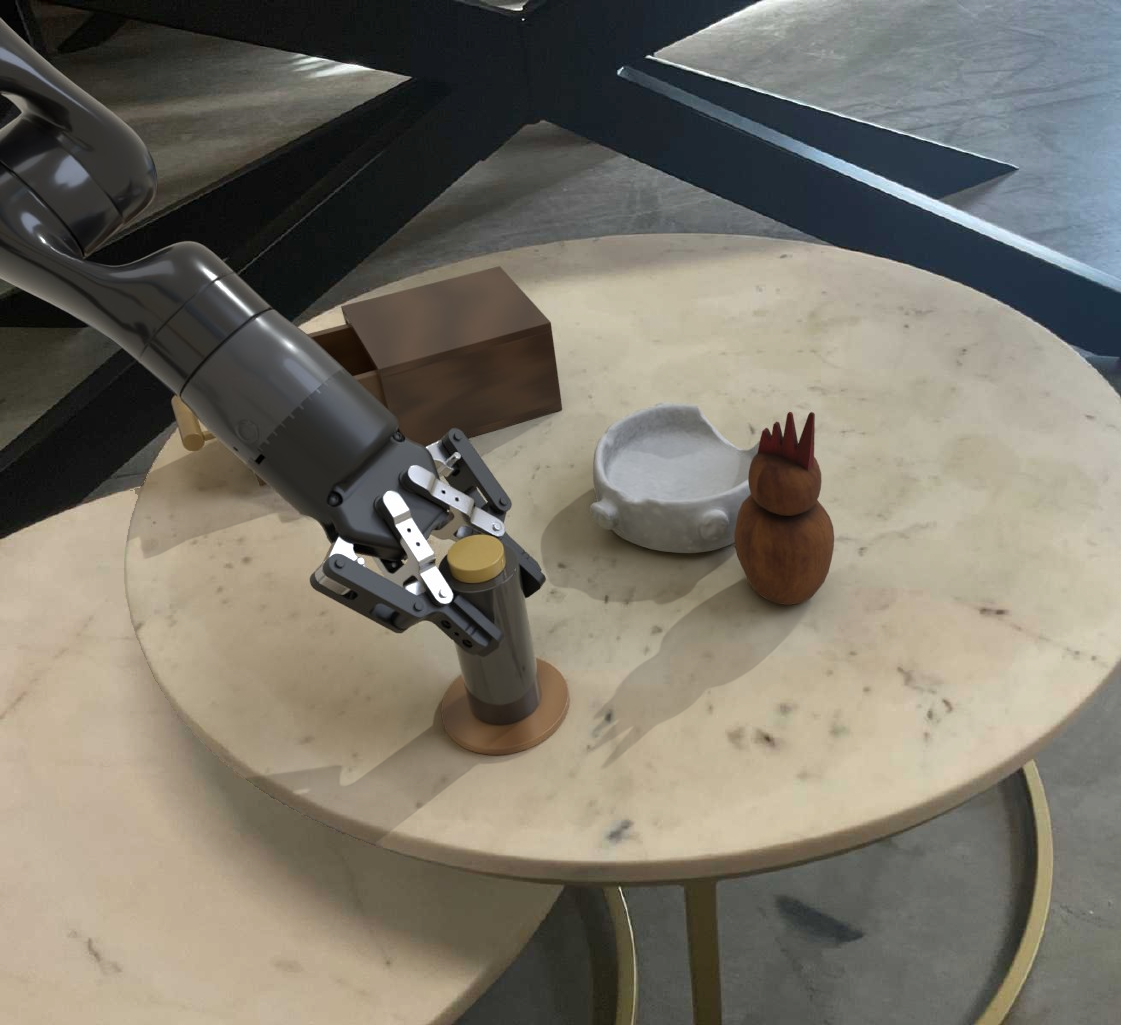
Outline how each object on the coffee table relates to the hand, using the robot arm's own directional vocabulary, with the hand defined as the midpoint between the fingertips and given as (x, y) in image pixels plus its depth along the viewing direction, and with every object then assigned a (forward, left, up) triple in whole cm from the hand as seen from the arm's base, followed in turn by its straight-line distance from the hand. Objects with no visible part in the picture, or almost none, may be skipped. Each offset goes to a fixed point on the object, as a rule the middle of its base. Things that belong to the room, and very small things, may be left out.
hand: (515, 617), depth 66 cm
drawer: (-6, +38, -7) cm, 39 cm away
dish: (+18, +14, -8) cm, 24 cm away
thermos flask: (-1, +1, -8) cm, 8 cm away
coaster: (-1, +1, -8) cm, 8 cm away
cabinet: (+8, +38, -8) cm, 40 cm away
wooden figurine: (+20, +2, -8) cm, 22 cm away
